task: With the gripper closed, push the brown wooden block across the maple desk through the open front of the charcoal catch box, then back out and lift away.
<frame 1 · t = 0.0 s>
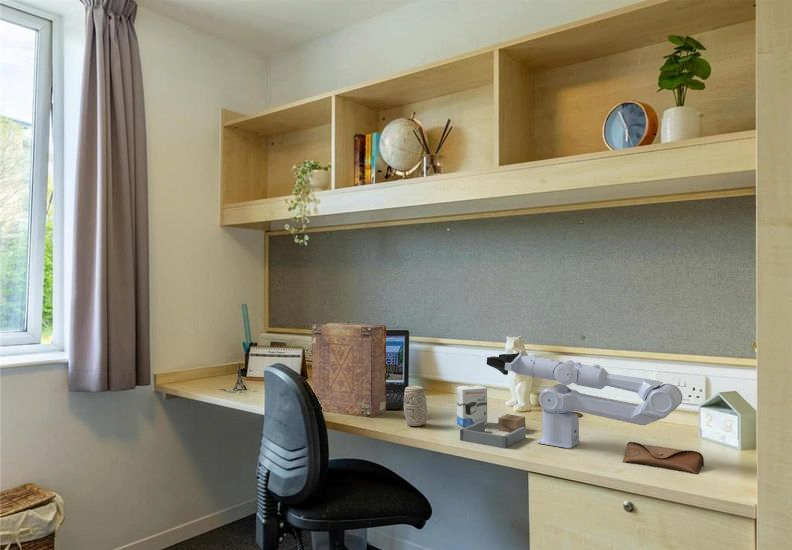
hand: (493, 359, 175), 22 cm above the table, tool horizontal, fingers open, 7 cm apart
book: (348, 411, 205), on the table
carving: (415, 426, 184), on the table
eiffel tower figurine: (238, 391, 245), on the table
sunglasses case: (661, 466, 145), on the table
brown wooden block: (511, 430, 178), on the table
catch box: (493, 438, 168), on the table
ink box: (472, 425, 185), on the table
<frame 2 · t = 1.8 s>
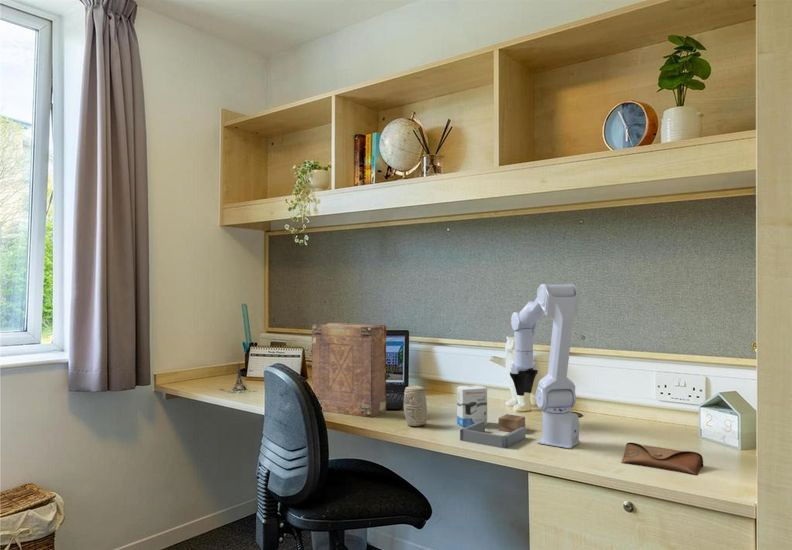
hand: (524, 393, 185), 9 cm above the table, tool pointing down, fingers open, 5 cm apart
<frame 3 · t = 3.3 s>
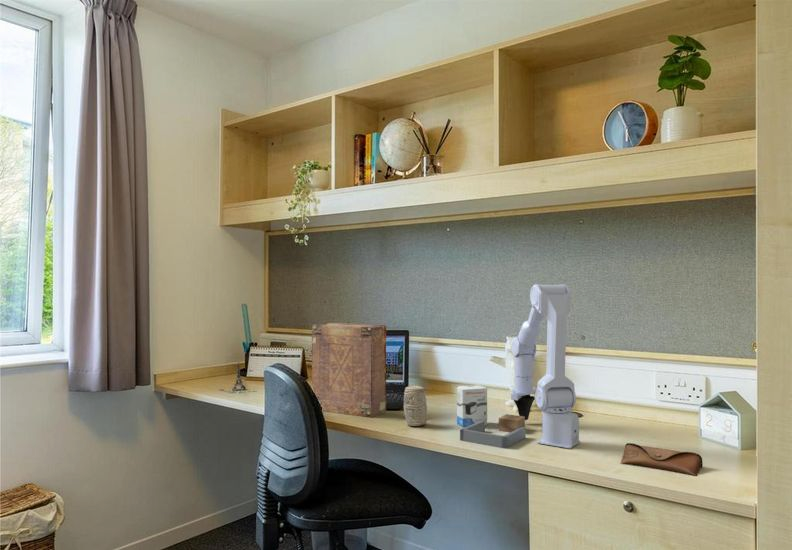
hand: (524, 419, 185), 1 cm above the table, tool pointing down, fingers closed
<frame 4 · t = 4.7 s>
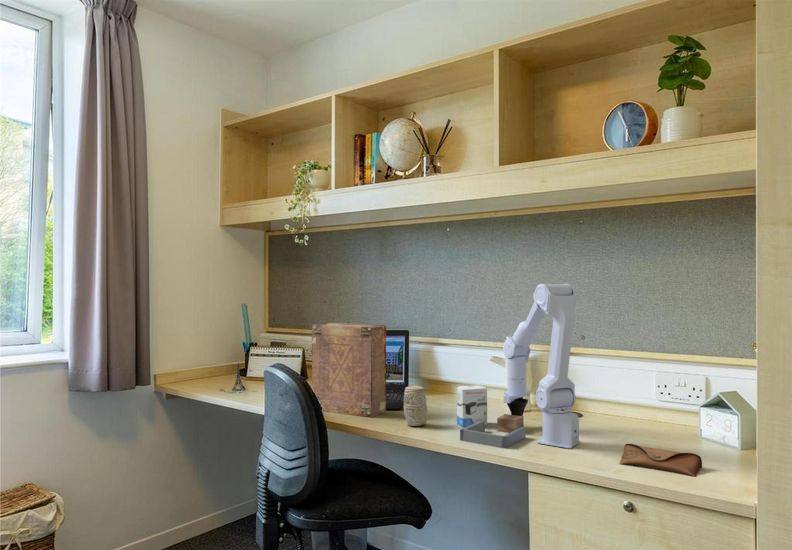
hand: (517, 422, 181), 1 cm above the table, tool pointing down, fingers closed
brown wooden block: (510, 430, 177), on the table, touching gripper
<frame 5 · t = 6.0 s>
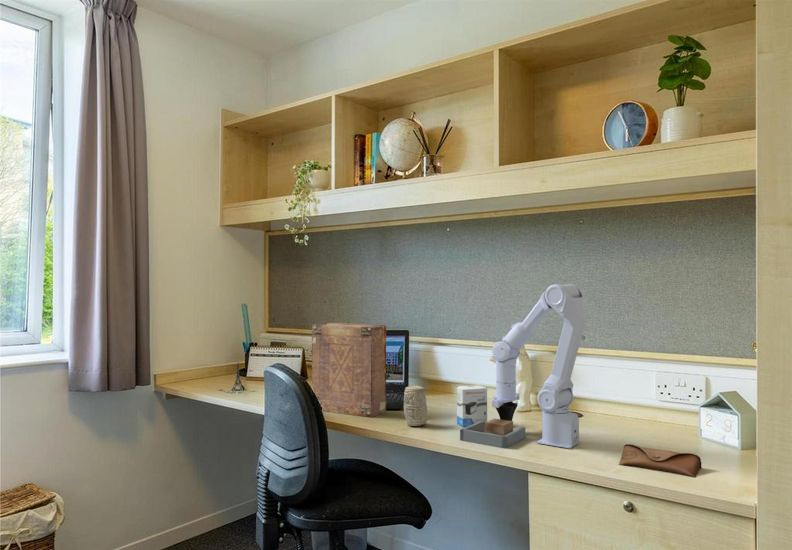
hand: (506, 427, 175), 1 cm above the table, tool pointing down, fingers closed
brown wooden block: (499, 435, 171), on the table, touching gripper
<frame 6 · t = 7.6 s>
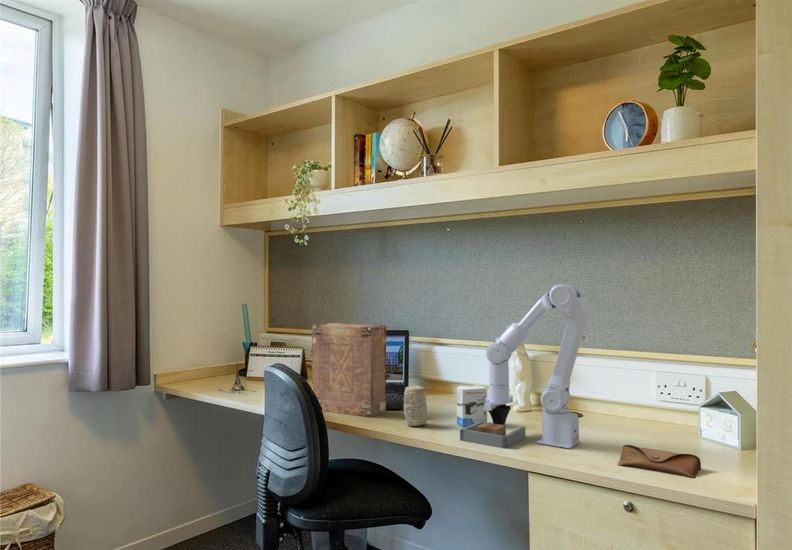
hand: (499, 431, 171), 1 cm above the table, tool pointing down, fingers closed
brown wooden block: (491, 439, 168), on the table
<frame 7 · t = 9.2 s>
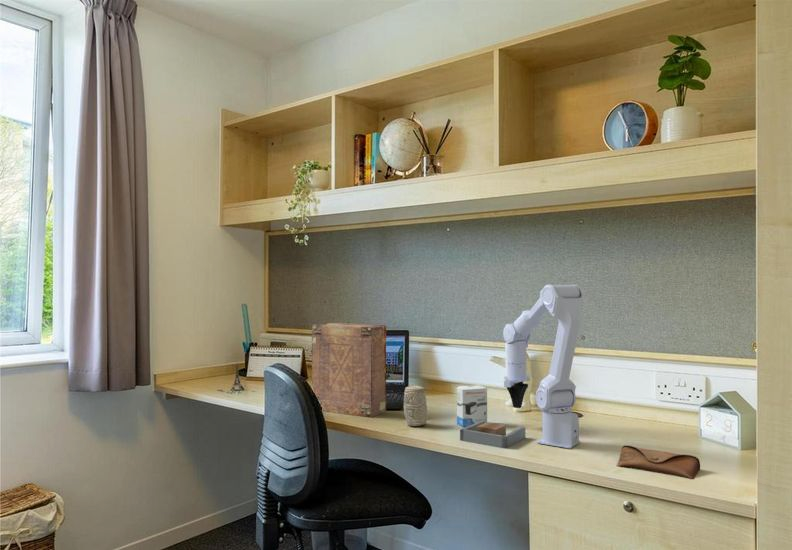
hand: (517, 407, 181), 6 cm above the table, tool pointing down, fingers closed
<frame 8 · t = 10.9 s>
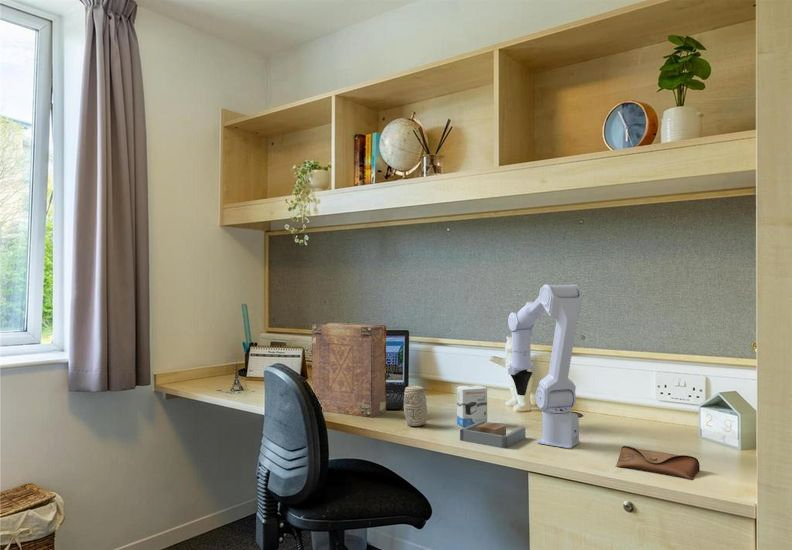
hand: (521, 394, 184), 9 cm above the table, tool pointing down, fingers closed
at the end: brown wooden block inside the target area on the catch box (0.3 cm from its centre), point 0.0 cm above the catch box's base; brown wooden block tilted 0° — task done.
